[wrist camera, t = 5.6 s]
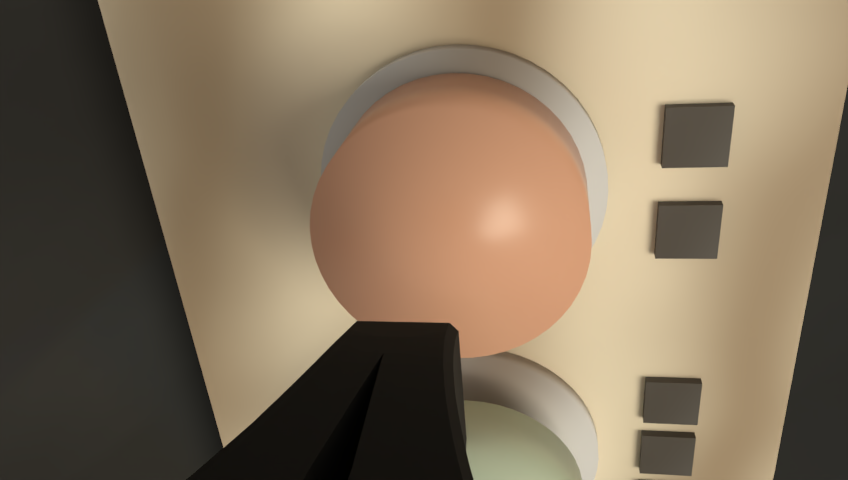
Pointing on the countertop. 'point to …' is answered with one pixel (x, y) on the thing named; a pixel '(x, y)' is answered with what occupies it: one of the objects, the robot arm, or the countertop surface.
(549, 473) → the sage button
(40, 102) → the countertop surface
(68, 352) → the countertop surface
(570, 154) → the terracotta button
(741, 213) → the button board
